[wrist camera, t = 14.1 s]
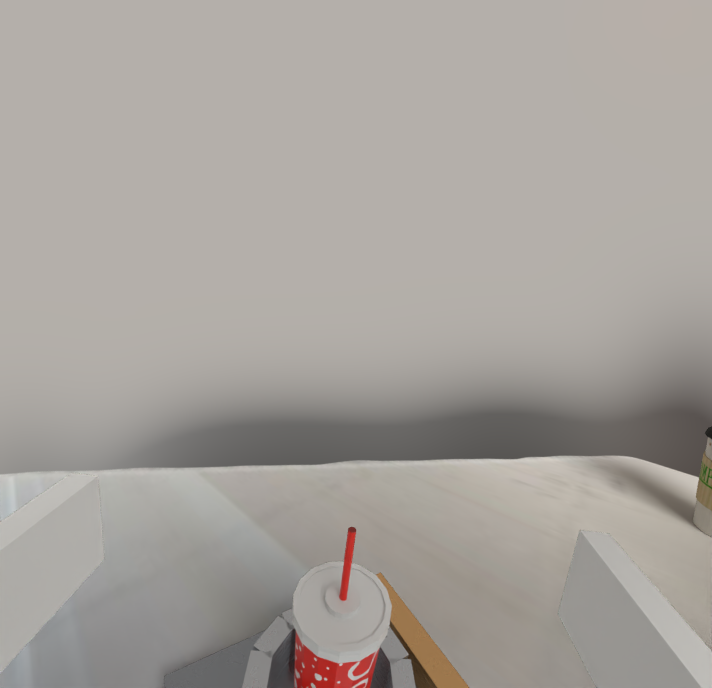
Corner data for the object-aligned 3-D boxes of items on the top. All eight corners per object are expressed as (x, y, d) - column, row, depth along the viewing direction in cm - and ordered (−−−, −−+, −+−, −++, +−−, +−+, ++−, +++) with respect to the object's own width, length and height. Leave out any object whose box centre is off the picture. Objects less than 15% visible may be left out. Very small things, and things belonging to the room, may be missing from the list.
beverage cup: (291, 793, 20) (316, 585, 17) (273, 676, 26) (289, 503, 23) (388, 749, 23) (424, 559, 20) (353, 651, 28) (377, 491, 25)
